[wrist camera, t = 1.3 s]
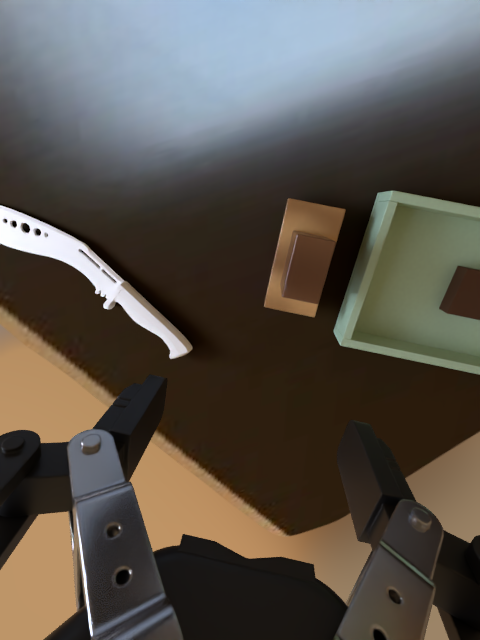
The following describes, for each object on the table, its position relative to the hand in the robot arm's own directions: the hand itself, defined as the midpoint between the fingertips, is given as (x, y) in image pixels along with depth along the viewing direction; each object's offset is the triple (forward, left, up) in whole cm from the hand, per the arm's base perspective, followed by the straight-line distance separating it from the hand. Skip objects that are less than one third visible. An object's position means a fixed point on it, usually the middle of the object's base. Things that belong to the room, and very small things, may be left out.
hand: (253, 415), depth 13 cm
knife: (+2, -21, -20) cm, 29 cm away
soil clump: (-5, +20, -20) cm, 28 cm away
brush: (-5, +3, -20) cm, 21 cm away
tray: (-5, +18, -20) cm, 28 cm away
